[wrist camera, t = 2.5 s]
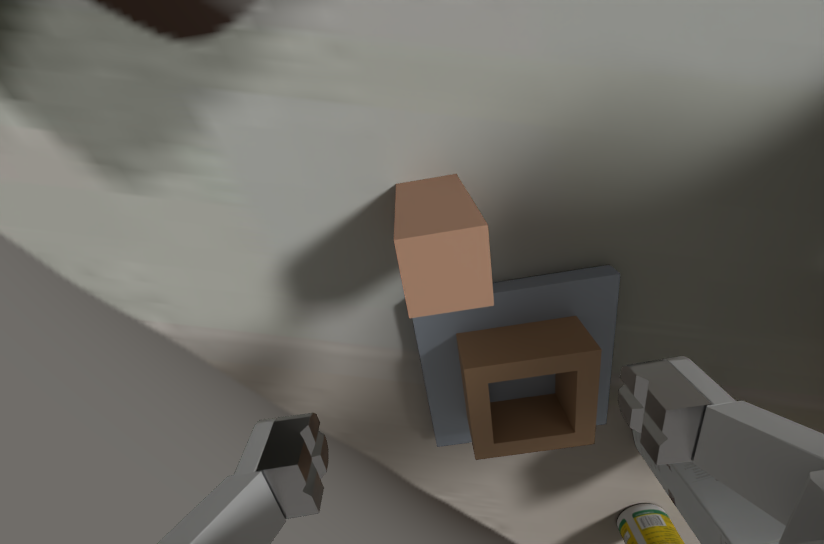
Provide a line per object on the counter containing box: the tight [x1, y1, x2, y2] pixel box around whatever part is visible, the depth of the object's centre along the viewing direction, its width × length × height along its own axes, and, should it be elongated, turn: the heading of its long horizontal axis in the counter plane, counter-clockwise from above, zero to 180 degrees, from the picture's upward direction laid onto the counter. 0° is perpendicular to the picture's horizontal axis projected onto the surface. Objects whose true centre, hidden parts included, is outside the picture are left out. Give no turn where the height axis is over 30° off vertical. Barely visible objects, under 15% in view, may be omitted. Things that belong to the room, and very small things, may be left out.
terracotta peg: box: [394, 174, 494, 318], centre depth 21 cm, size 4×4×10 cm
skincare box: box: [632, 429, 786, 544], centre depth 30 cm, size 6×4×12 cm
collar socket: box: [412, 265, 620, 460], centre depth 29 cm, size 15×15×6 cm
